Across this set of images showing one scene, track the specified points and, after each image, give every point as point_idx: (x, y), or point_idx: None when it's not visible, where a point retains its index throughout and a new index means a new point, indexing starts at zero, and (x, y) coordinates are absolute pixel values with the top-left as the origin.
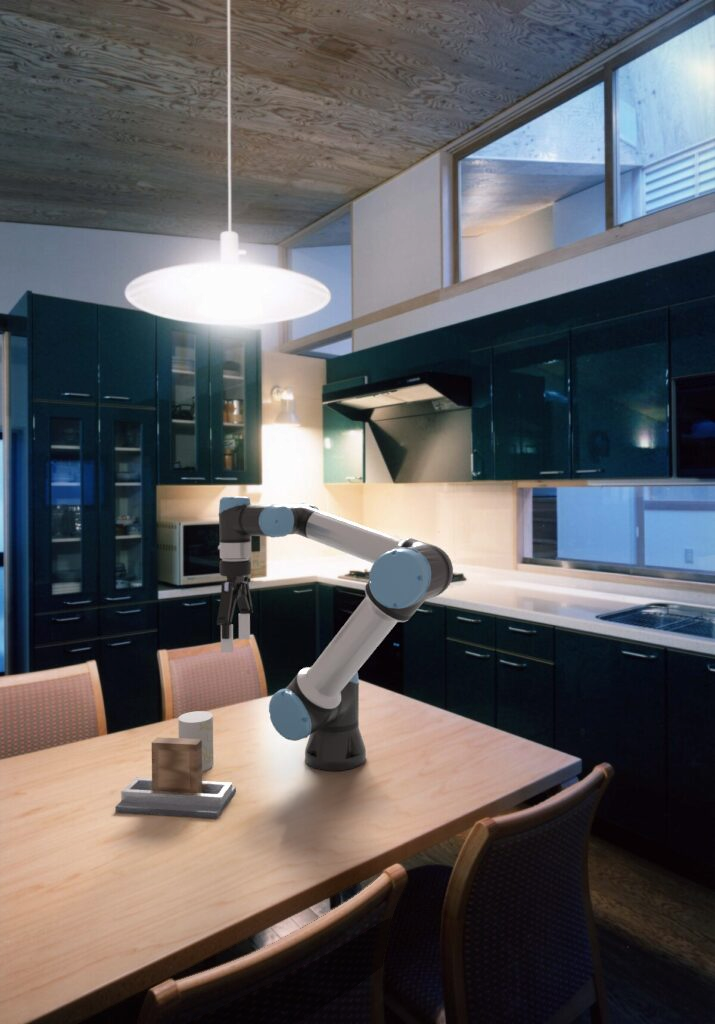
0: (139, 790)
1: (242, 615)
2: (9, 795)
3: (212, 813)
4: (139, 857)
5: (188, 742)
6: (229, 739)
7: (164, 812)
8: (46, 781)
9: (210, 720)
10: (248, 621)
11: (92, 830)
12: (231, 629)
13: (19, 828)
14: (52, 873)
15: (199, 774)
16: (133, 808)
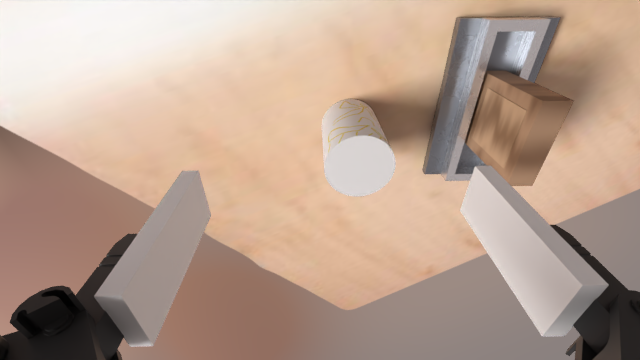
0: None
1: (146, 318)
2: (433, 275)
3: (554, 27)
4: (631, 90)
5: (554, 121)
6: (229, 110)
7: None
8: (401, 263)
9: (369, 134)
10: (153, 248)
11: None
12: (577, 257)
13: None
14: (625, 167)
15: (516, 81)
16: None
